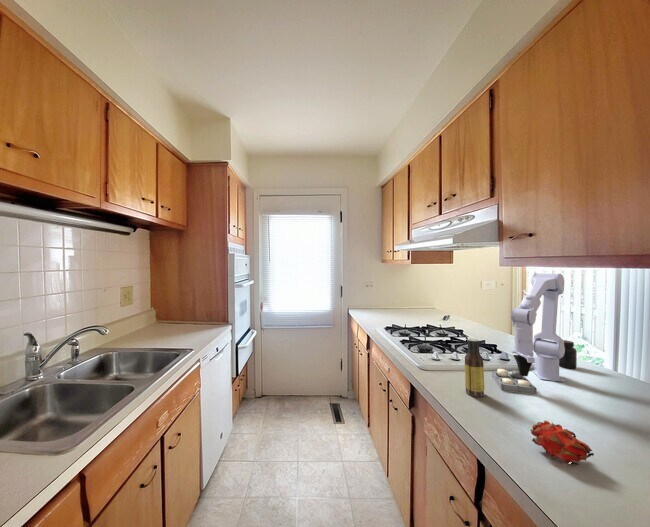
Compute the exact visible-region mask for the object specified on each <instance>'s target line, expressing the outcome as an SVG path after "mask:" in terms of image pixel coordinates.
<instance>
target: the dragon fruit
mask: <svg viewBox="0 0 650 527" xmlns="http://www.w3.org/2000/svg"><path fill="white" fill-rule="evenodd" d="M529 431H530V434H531V435H532V436H534V437H533V438H532V440H531V441H532V442H533V443H534V444H535V445H536V446H538V447H539V446H541V447H542V448H543V450H544V451H545V453H546V454H548V455H549V457H550V459H551V460H554V459H555V458H558V459H559V460H561V461H563V462H564V463H567V464H568V463H569V462H570V461H571V462H572V463H571V465H570V466H580V463H578V462H580V461H587V459H588V458H590V457H592V456H593V457H594V455H595V454H594V452H593V449H591V447H590V446H589V445H588V444H587V443H586V442H584V441H582V440H580V439H578V438H577V435H576V434H575V433H574V431H570V430H569V429H568V428H564V429H563V426H562V425H561V424H559V423H557V424H554V422H549V421H548V420H543V421H541V422H540V421H538V422H537V423H536V424H533V425H532V428H531V429H530V430H529Z"/></svg>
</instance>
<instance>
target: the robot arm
mask: <svg viewBox="0 0 650 527" xmlns="http://www.w3.org/2000/svg"><path fill="white" fill-rule="evenodd" d="M530 282H531V283H530V284H531V289H530V292H529V294H527V295H524V296H523V299H521V301H520V303H519V305H518V306H517V307H515V308H513V309H512V310H511V314H510V318H511V322H512V327H514V328H513V329H514V330H513V332H514V334H513V338H514V339H513V340H514V343H513V344H514V345H513V349H510V353H512V356H513V359H514V360H515V362H516V365H517V369H518V371H519V373H520V375H521V376H525V377H528V375H529V373H530V370H531V367H532V365H533V364H534V369H532V370H531V372H532V373H533V374H534V375H535V376H536V377H538V379H539V380H542V381H544V380H545V381H552V382H562V383H563V382H565V379H563V378H561V377H560V366H559V358H562V357H563V356H564V353H565V347H564V339H563V338H562V337H560V336H559V335H558V333H557V323H558V322H557V321H558V320H557V318H558V306H559V305H558V303H559V296H560V295H563V294H564V292H565V277H564V275H562V273H537V272H534V273H533V274H532V275H531V278H530ZM542 297H543V299H542V300H543V302H541V298H542ZM541 303H542V304H543V305H542V316H541V330H540V332H538V333H536V334H533V333H534V330H533V328H534V326H533V325H535V324H536V320H537V315H538V313H537V311H538V309H539V307H540V306H541ZM534 353H535V356H534Z"/></svg>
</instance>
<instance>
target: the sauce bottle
mask: <svg viewBox="0 0 650 527" xmlns="http://www.w3.org/2000/svg"><path fill="white" fill-rule="evenodd" d="M466 342H467V352H466V354H465V356H464V382H465V384H464V386H465V393H466V394H467V395H469V396H471V397H476V398H479V397H484V395H485V368H484V366H485V364H484V358H483V357H482V355H481V354H480V343H481V342H480V340H479V339H477V338H467V339H466Z"/></svg>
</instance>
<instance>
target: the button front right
mask: <svg viewBox="0 0 650 527" xmlns="http://www.w3.org/2000/svg"><path fill="white" fill-rule="evenodd" d="M502 383H503V384H512V385H513V380H512V379H509V378H502Z"/></svg>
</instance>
